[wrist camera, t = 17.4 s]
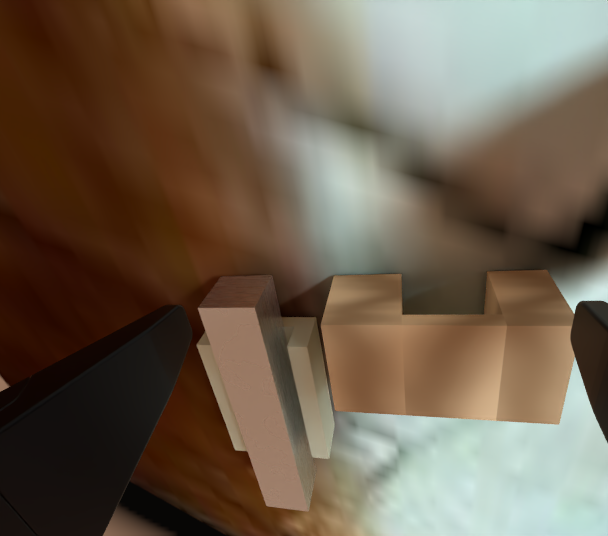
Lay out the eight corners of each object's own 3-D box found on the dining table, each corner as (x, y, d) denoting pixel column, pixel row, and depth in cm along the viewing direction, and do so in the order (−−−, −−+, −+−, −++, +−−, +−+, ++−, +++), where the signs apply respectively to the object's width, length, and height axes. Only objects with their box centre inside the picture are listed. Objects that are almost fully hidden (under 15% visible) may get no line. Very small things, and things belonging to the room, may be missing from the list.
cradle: (316, 317, 25) (307, 347, 22) (334, 424, 30) (328, 458, 27) (214, 317, 27) (196, 344, 24) (247, 418, 31) (235, 450, 29)
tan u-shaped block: (546, 269, 20) (581, 325, 16) (532, 358, 23) (559, 424, 19) (334, 275, 23) (320, 324, 19) (344, 354, 26) (334, 410, 22)
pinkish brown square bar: (220, 276, 23) (197, 308, 21) (272, 274, 23) (254, 307, 20) (277, 466, 32) (266, 505, 29) (316, 470, 31) (308, 511, 28)
